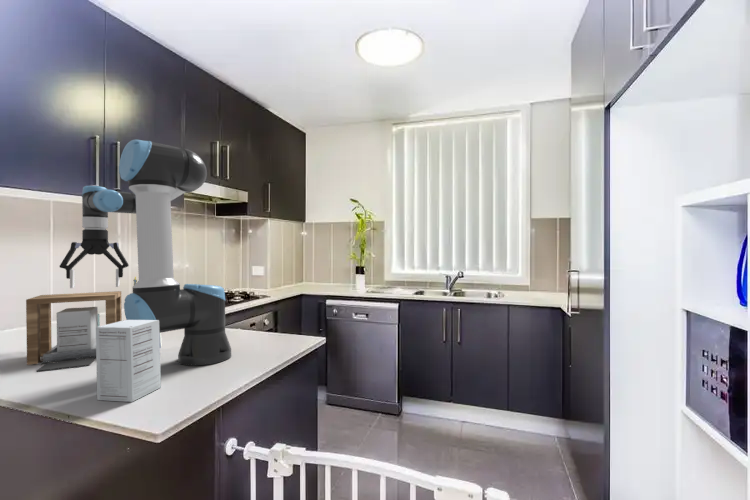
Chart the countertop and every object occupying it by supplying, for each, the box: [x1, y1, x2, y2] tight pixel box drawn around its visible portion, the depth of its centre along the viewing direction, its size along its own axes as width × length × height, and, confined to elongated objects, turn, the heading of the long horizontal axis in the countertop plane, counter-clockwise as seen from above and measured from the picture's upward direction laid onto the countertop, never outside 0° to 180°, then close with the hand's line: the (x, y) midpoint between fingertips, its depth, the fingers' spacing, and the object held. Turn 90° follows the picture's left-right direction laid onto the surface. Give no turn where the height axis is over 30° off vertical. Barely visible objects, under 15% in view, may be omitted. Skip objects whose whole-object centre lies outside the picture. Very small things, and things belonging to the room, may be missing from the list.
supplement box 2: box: [95, 319, 162, 403], centre depth 89 cm, size 10×9×17 cm
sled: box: [42, 313, 101, 364], centre depth 128 cm, size 26×14×10 cm, turn 26°
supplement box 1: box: [56, 306, 99, 352], centre depth 123 cm, size 9×9×15 cm
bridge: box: [25, 290, 123, 366], centre depth 123 cm, size 12×22×20 cm, turn 116°
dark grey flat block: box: [36, 357, 96, 373], centre depth 112 cm, size 8×12×1 cm, turn 116°
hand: (95, 287), depth 138 cm, fingers open, 13 cm apart
